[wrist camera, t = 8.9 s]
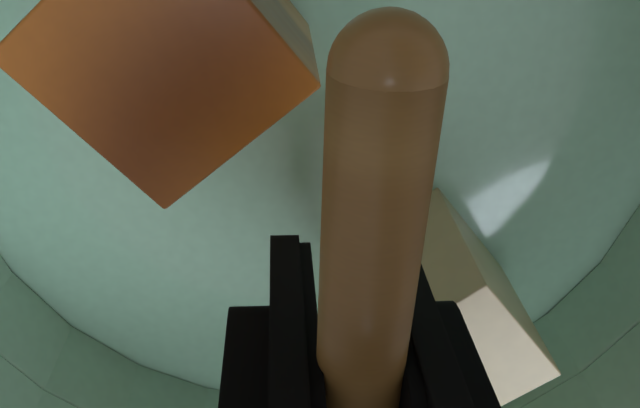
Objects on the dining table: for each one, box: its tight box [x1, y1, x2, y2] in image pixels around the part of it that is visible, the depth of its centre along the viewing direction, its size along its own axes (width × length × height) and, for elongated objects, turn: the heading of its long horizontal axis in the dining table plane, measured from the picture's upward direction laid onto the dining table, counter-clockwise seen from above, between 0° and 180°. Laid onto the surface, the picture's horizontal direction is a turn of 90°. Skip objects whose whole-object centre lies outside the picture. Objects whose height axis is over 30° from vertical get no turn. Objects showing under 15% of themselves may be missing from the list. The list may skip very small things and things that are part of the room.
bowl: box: [0, 0, 640, 408], centre depth 14 cm, size 22×22×6 cm
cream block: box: [421, 188, 561, 406], centre depth 16 cm, size 4×4×4 cm
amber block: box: [0, 0, 321, 209], centre depth 11 cm, size 4×4×4 cm
